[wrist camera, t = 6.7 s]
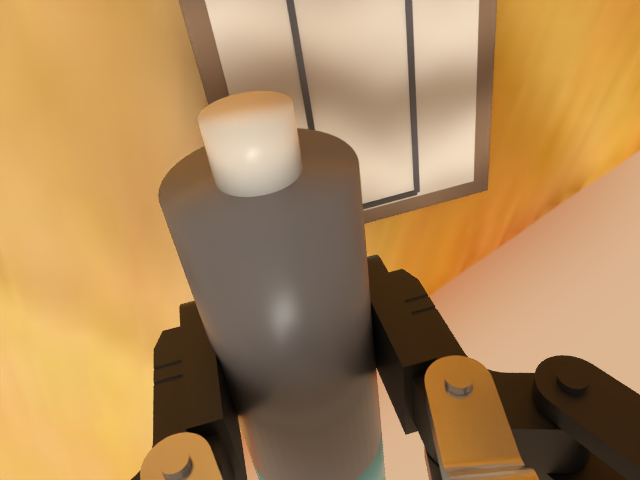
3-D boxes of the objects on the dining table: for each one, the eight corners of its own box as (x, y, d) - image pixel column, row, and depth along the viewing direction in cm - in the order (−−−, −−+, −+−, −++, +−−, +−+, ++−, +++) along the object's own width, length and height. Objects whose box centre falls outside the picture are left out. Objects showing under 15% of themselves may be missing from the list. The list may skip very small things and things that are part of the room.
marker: (153, 87, 10) (115, 180, 7) (338, 58, 10) (372, 140, 7) (264, 436, 17) (267, 554, 14) (373, 418, 17) (397, 532, 14)
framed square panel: (163, -57, 21) (163, -54, 20) (490, -122, 22) (506, -122, 21) (248, 244, 30) (252, 257, 29) (479, 182, 31) (490, 192, 30)
